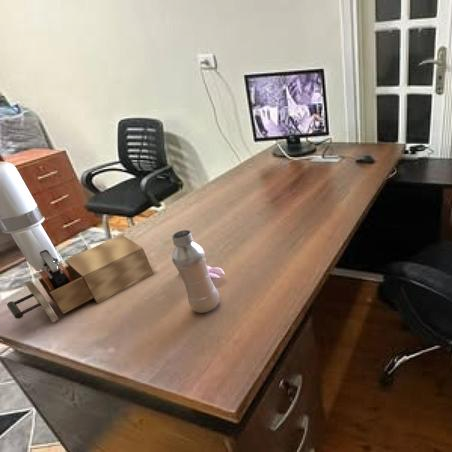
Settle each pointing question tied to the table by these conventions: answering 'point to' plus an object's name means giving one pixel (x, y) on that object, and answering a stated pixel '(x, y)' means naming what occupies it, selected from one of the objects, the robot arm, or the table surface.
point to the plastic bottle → (194, 272)
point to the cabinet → (111, 266)
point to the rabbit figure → (214, 272)
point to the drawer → (56, 296)
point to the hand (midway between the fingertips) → (60, 284)
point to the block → (45, 277)
